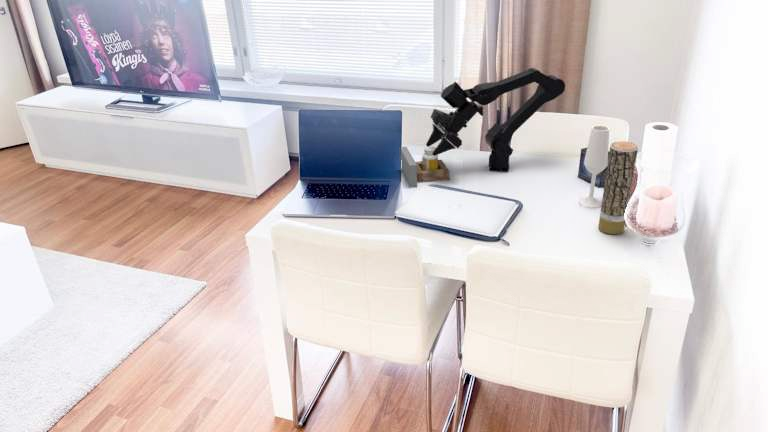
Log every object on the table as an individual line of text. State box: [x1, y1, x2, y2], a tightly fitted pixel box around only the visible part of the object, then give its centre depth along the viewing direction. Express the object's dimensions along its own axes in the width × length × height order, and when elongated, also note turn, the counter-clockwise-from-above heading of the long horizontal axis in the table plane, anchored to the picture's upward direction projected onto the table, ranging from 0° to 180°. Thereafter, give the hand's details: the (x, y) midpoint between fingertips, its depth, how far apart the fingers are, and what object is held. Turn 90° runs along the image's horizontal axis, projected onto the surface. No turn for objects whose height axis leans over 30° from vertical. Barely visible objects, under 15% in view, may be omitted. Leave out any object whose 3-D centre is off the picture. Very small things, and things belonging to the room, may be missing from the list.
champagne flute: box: [578, 125, 610, 208], centre depth 175 cm, size 7×7×24 cm
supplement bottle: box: [421, 146, 439, 171], centre depth 202 cm, size 5×5×10 cm
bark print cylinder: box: [598, 140, 639, 235], centre depth 159 cm, size 7×7×25 cm
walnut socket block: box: [415, 159, 450, 184], centre depth 203 cm, size 11×11×4 cm
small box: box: [577, 147, 610, 189], centre depth 193 cm, size 11×6×10 cm, turn 25°
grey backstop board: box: [401, 146, 418, 188], centre depth 201 cm, size 2×18×8 cm, turn 9°
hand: (429, 150), depth 200 cm, fingers open, 9 cm apart
